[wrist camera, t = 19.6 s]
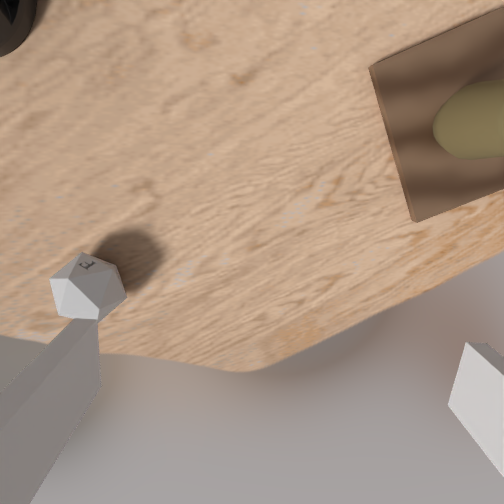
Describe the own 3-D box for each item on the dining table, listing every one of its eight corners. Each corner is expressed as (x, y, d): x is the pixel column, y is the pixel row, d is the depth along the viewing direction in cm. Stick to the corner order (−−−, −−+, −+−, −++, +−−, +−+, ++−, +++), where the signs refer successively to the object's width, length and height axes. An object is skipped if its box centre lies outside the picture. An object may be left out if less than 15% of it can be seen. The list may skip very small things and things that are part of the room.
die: (147, 283, 49) (116, 262, 40) (111, 337, 47) (71, 328, 38) (102, 258, 51) (64, 233, 42) (66, 309, 49) (18, 294, 40)
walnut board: (368, 67, 41) (372, 64, 39) (494, 11, 39) (503, 6, 38) (411, 220, 46) (417, 222, 45) (523, 176, 45) (532, 177, 43)
